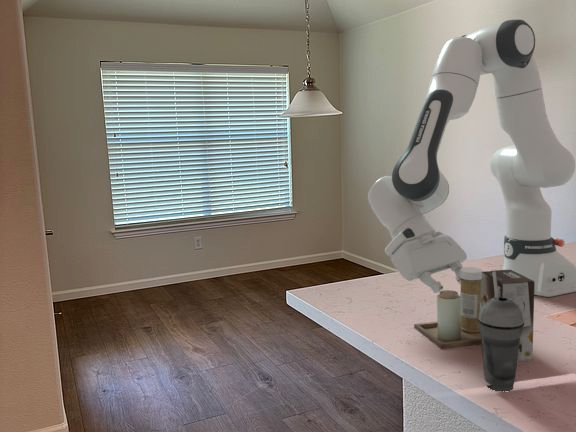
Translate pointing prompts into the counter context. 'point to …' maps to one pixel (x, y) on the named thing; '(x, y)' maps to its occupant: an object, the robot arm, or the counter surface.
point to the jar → (448, 316)
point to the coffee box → (520, 294)
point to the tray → (431, 333)
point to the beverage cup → (500, 340)
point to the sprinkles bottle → (470, 298)
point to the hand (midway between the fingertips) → (452, 286)
